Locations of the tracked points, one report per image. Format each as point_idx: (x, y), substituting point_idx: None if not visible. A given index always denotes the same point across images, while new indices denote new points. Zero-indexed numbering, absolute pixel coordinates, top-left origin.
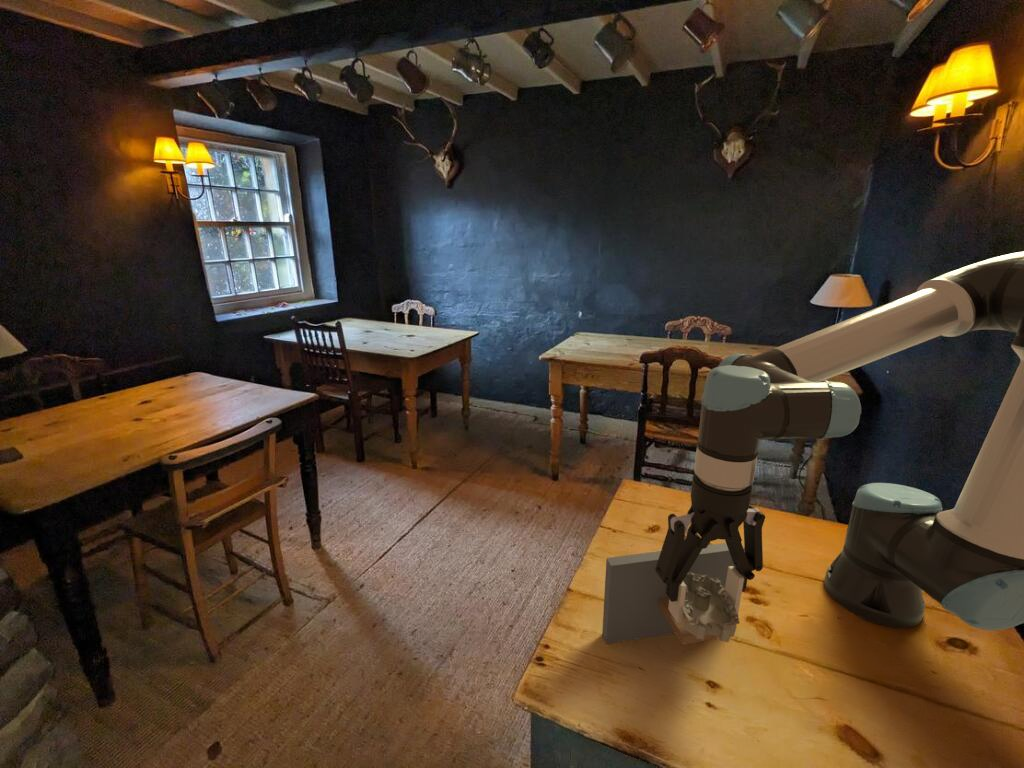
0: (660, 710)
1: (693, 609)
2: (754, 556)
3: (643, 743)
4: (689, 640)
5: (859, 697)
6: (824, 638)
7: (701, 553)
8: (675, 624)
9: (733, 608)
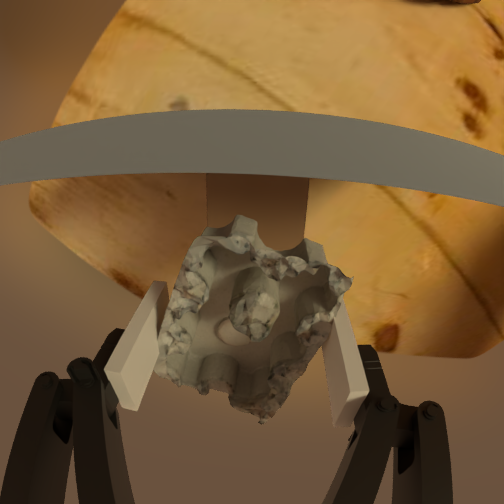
0: (173, 263)
1: (225, 292)
2: (393, 486)
3: (139, 291)
4: None
5: (442, 302)
6: (490, 224)
7: (373, 179)
8: None
9: (284, 394)
